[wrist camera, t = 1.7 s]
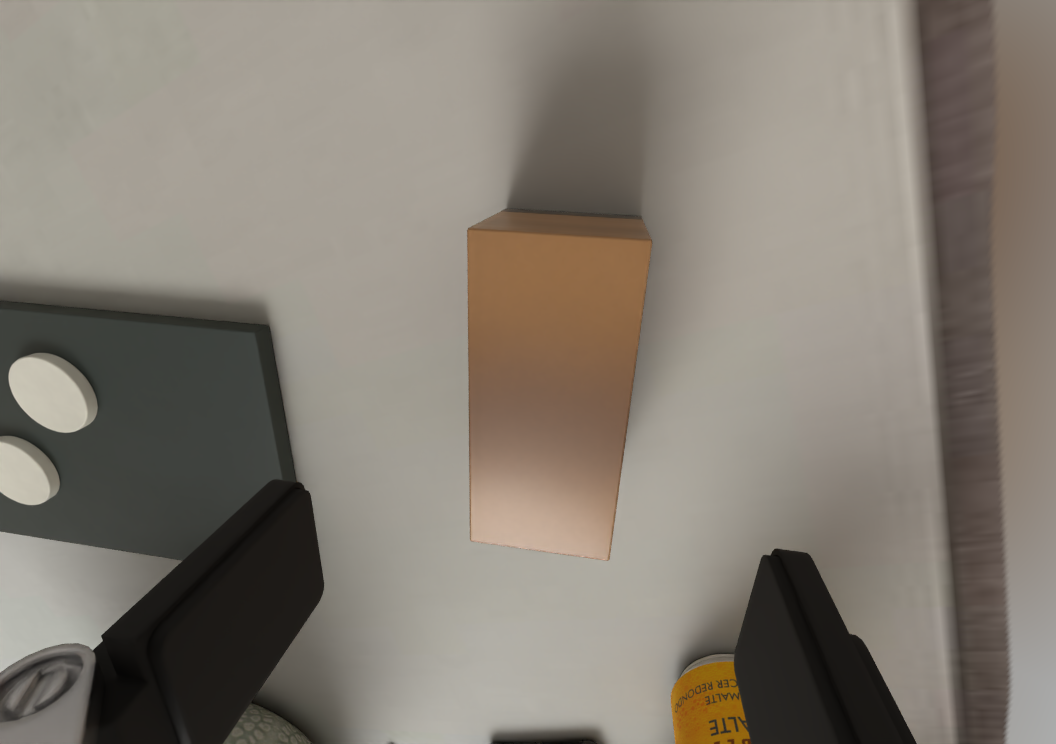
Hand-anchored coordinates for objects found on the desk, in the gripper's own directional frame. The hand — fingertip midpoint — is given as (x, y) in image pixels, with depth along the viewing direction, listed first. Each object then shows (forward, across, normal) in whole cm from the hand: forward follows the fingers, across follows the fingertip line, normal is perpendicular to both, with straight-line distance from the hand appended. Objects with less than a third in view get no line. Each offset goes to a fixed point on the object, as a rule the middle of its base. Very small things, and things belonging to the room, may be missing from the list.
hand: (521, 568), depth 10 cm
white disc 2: (+10, +28, +8) cm, 31 cm away
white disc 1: (+10, +24, +3) cm, 27 cm away
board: (+11, +25, +6) cm, 28 cm away
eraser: (+12, 0, -1) cm, 12 cm away
